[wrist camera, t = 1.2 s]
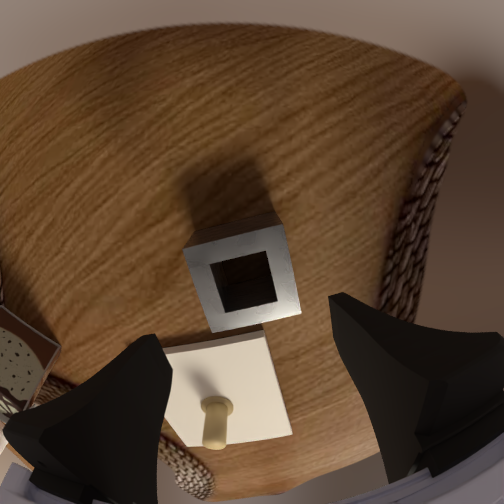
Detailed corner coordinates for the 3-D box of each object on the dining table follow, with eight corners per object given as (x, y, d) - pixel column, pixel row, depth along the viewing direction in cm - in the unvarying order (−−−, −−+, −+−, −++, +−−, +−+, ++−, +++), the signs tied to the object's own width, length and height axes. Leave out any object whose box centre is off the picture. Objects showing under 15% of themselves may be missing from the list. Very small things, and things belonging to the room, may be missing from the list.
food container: (-2, 336, 22) (-45, 380, 13) (-6, 298, 20) (-60, 341, 11) (72, 387, 24) (36, 448, 14) (72, 352, 22) (25, 420, 13)
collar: (274, 211, 19) (282, 224, 15) (291, 285, 20) (301, 313, 16) (194, 231, 19) (182, 249, 15) (217, 302, 21) (212, 332, 17)
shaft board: (263, 329, 21) (269, 377, 16) (291, 427, 26) (297, 467, 20) (131, 352, 22) (109, 394, 17) (188, 440, 26) (182, 477, 21)
